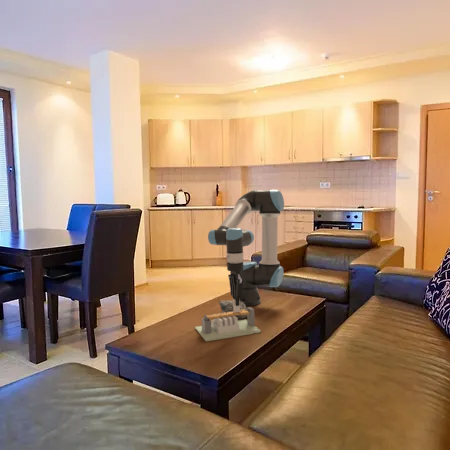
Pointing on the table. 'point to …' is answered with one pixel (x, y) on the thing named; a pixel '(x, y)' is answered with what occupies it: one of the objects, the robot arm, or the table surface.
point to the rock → (228, 307)
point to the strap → (226, 314)
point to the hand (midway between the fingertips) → (236, 311)
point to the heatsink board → (231, 334)
